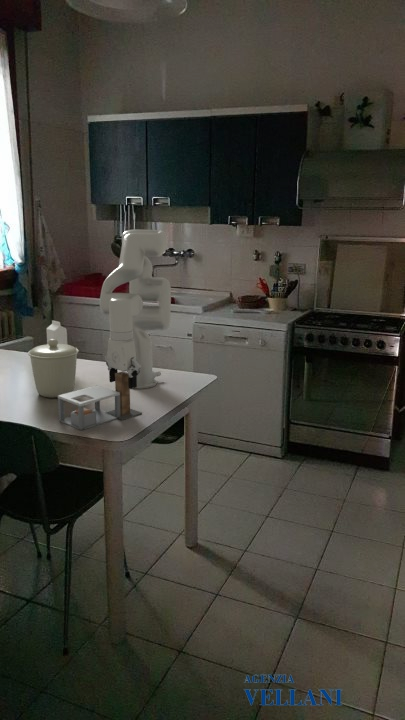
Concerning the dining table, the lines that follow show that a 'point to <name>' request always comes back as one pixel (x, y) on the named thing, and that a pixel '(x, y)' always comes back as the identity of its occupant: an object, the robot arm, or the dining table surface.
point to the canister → (54, 368)
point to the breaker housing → (96, 414)
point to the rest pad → (126, 416)
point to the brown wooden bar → (123, 391)
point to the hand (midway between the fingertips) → (123, 384)
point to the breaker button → (86, 411)
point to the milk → (57, 332)
